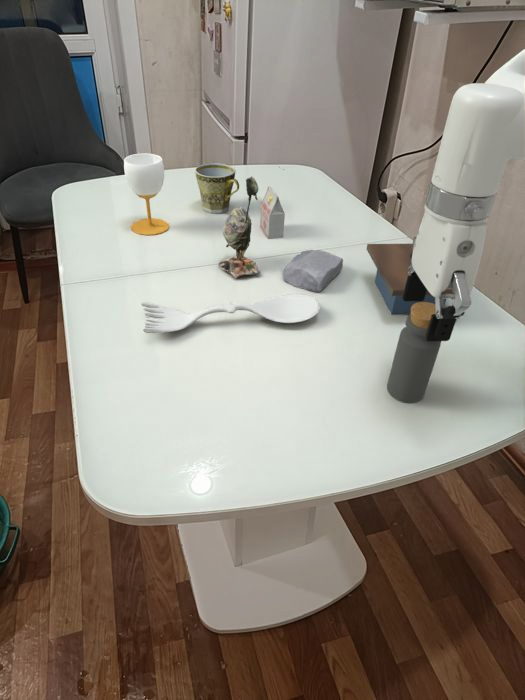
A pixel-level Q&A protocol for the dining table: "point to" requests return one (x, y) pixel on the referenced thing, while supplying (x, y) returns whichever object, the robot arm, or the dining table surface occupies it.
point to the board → (394, 265)
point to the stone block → (312, 269)
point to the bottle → (413, 356)
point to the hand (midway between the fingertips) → (424, 319)
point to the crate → (398, 298)
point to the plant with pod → (240, 236)
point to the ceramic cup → (216, 186)
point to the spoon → (273, 309)
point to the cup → (146, 188)
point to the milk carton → (272, 215)
